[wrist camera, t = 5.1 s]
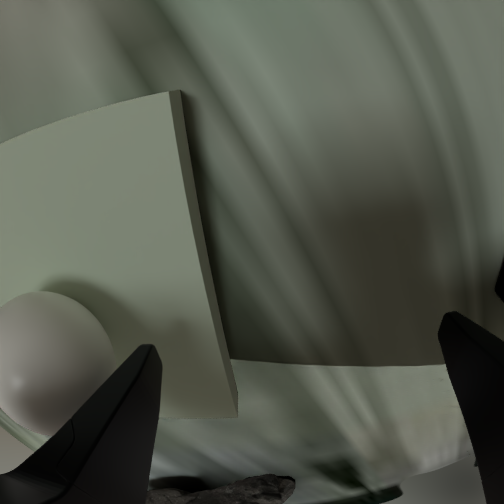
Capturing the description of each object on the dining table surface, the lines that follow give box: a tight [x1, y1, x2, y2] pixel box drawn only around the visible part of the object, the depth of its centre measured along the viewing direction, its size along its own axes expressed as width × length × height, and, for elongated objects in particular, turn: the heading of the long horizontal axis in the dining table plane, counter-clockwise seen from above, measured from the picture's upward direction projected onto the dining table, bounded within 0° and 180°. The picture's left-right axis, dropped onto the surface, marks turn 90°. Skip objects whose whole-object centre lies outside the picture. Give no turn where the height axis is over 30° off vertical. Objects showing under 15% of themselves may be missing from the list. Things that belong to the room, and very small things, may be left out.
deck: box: [0, 90, 238, 419], centre depth 12 cm, size 18×14×2 cm
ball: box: [0, 291, 116, 436], centre depth 9 cm, size 5×5×5 cm
